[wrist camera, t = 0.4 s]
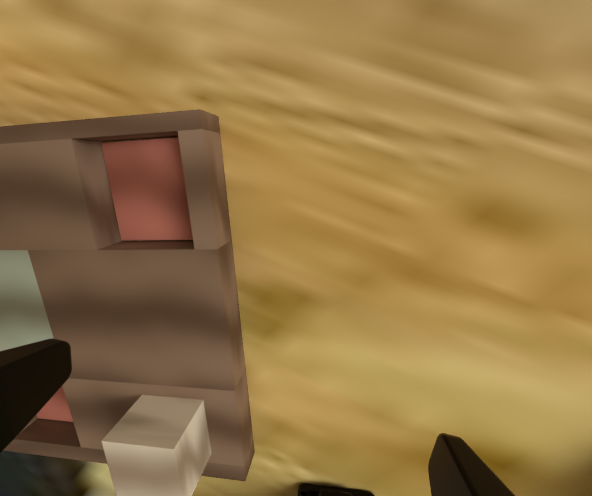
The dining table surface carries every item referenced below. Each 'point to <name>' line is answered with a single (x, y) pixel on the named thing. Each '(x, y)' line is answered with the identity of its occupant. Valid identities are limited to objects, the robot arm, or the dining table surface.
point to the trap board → (124, 276)
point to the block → (158, 447)
